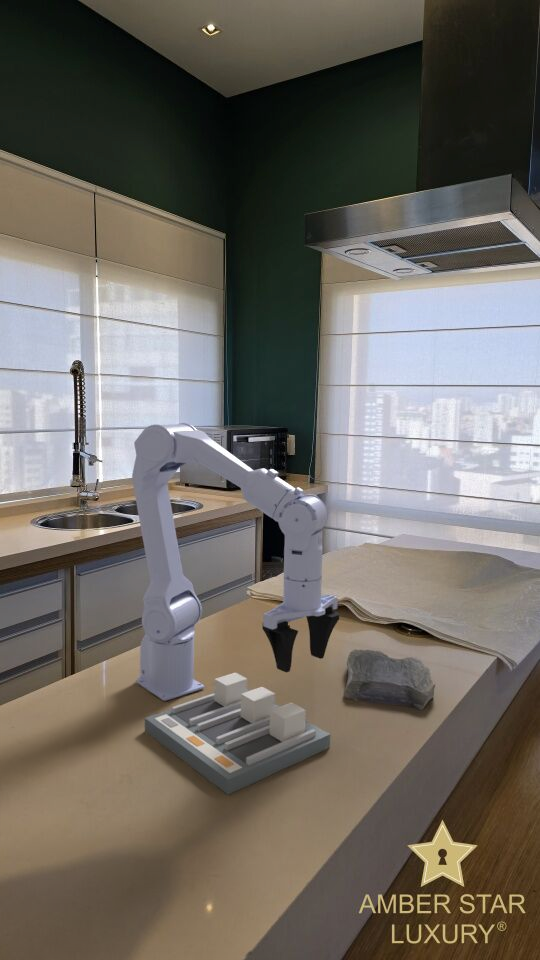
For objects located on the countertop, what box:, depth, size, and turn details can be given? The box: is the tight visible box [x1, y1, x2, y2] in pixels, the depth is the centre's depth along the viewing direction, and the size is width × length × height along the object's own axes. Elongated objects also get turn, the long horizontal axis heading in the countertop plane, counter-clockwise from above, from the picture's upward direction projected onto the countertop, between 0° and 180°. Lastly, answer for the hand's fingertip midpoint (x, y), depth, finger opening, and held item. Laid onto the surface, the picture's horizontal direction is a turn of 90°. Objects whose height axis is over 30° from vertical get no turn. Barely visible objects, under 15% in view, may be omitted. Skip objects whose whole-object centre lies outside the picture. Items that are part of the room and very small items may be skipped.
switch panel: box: [144, 688, 331, 796], centre depth 95 cm, size 20×18×3 cm
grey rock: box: [343, 648, 436, 711], centre depth 115 cm, size 15×16×4 cm
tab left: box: [213, 671, 248, 707], centre depth 102 cm, size 3×4×4 cm
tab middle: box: [241, 686, 276, 723], centre depth 97 cm, size 3×4×4 cm
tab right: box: [269, 701, 307, 742], centre depth 93 cm, size 3×4×4 cm
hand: (300, 663), depth 102 cm, fingers open, 7 cm apart
